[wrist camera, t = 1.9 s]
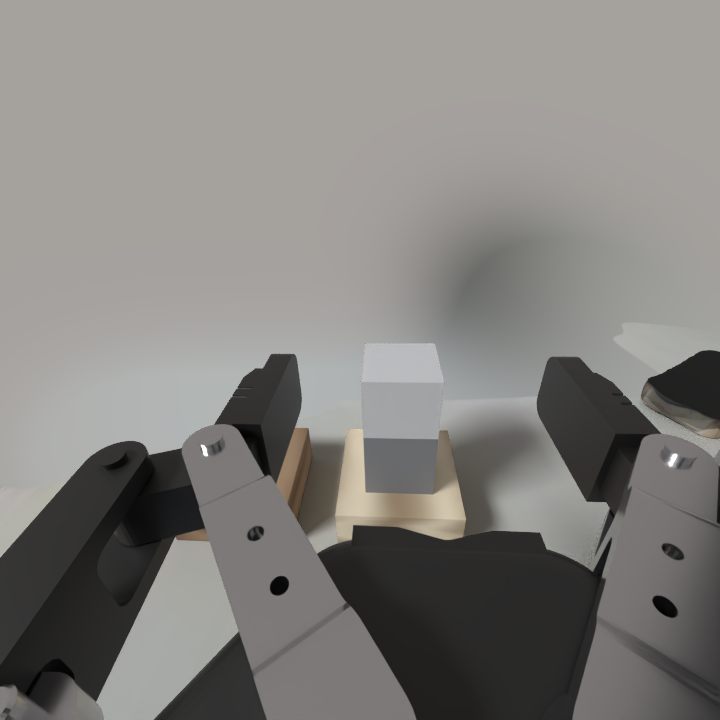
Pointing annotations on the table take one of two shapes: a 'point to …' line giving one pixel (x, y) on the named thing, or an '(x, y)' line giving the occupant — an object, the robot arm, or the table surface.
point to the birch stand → (399, 497)
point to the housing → (401, 417)
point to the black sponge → (689, 393)
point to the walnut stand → (283, 477)
